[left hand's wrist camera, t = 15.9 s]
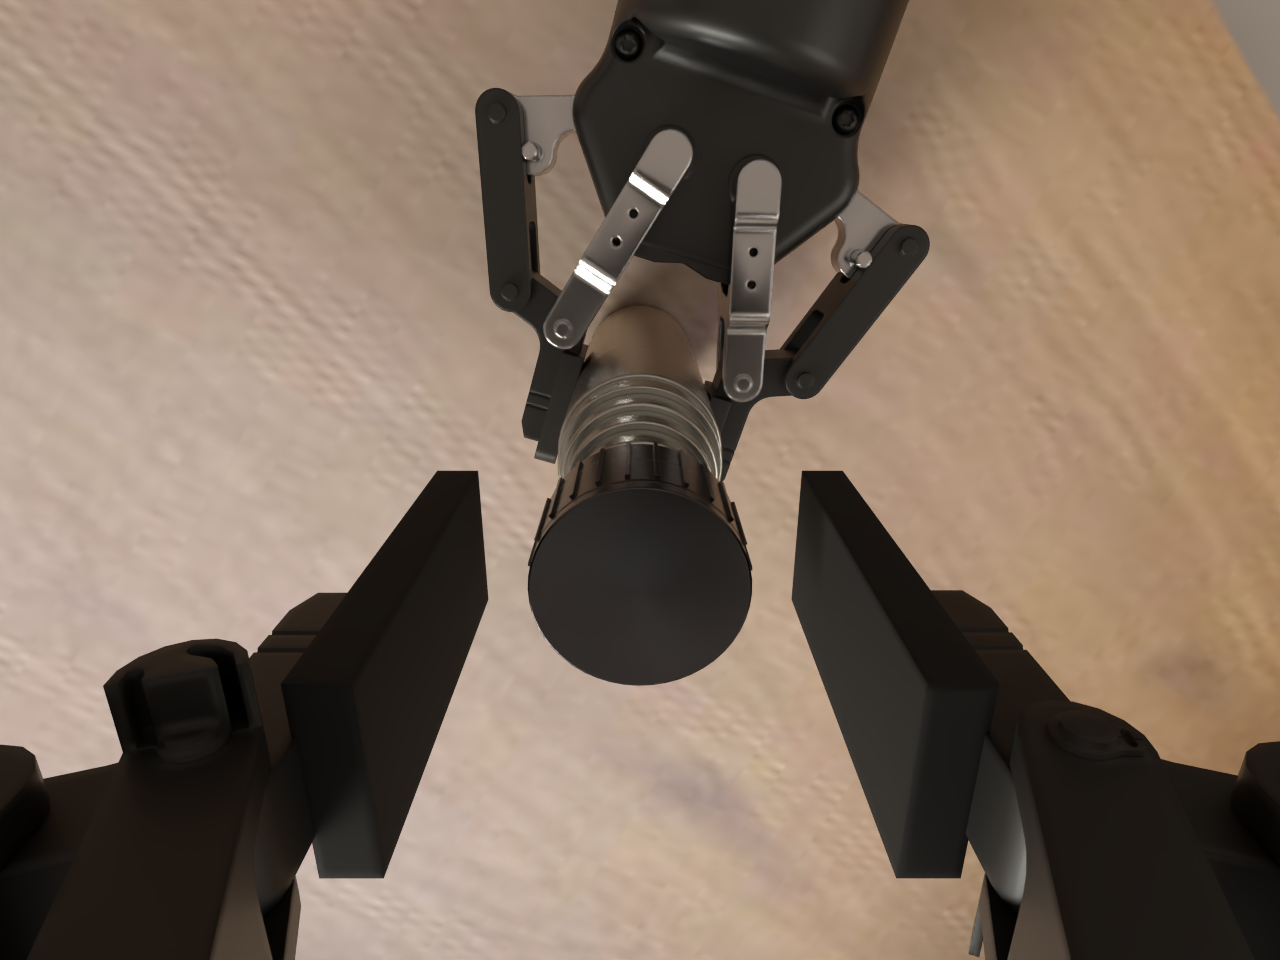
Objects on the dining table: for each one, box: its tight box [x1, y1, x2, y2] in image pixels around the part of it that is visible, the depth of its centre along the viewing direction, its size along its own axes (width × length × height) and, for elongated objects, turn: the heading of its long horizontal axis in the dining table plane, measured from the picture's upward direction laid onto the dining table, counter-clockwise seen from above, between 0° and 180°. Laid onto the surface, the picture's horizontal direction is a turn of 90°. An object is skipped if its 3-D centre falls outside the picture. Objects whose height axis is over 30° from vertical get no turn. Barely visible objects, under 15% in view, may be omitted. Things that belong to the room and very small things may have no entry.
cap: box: [528, 442, 752, 686], centre depth 13 cm, size 4×4×2 cm
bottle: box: [558, 305, 722, 481], centre depth 22 cm, size 4×4×19 cm
